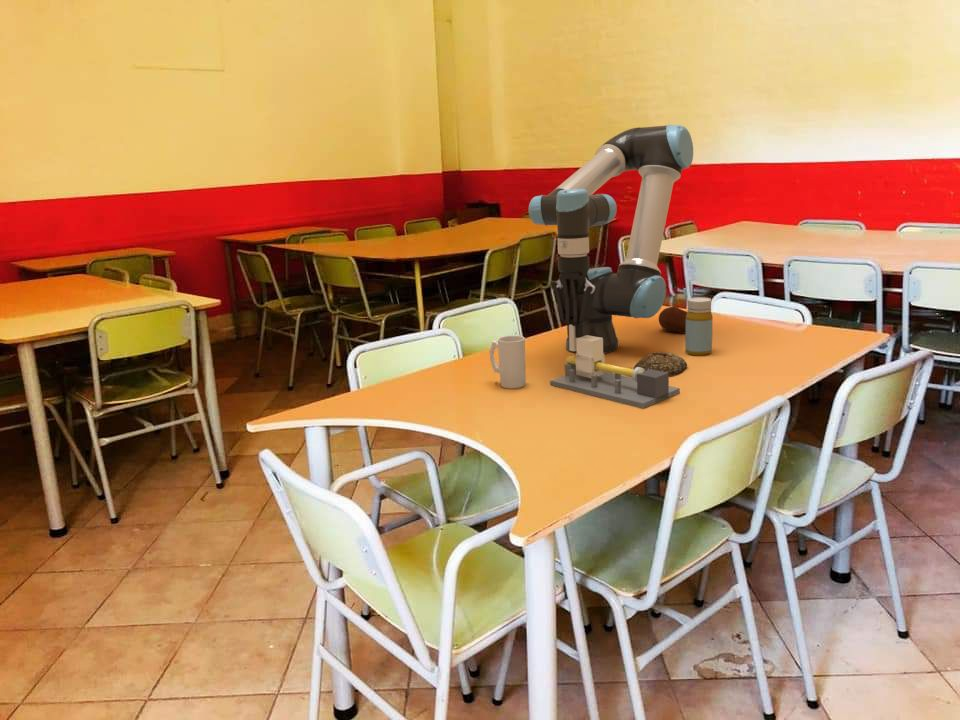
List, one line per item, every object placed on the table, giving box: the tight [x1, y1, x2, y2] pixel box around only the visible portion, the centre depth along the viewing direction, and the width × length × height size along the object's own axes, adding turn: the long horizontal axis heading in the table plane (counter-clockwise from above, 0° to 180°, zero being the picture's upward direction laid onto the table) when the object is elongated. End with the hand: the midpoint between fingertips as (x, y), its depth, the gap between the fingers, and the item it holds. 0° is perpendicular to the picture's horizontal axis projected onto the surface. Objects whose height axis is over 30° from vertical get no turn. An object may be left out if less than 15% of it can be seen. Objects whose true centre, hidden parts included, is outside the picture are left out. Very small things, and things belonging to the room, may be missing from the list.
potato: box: [658, 306, 688, 334], centre depth 230 cm, size 8×12×8 cm, turn 50°
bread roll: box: [633, 351, 688, 377], centre depth 193 cm, size 13×12×5 cm
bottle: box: [684, 297, 714, 357], centre depth 204 cm, size 7×7×15 cm
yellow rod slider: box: [549, 355, 681, 410], centre depth 179 cm, size 28×14×7 cm, turn 42°
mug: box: [489, 335, 527, 390], centre depth 186 cm, size 10×7×12 cm, turn 54°
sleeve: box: [575, 335, 605, 378], centre depth 183 cm, size 5×5×9 cm
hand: (575, 349), depth 186 cm, fingers closed
